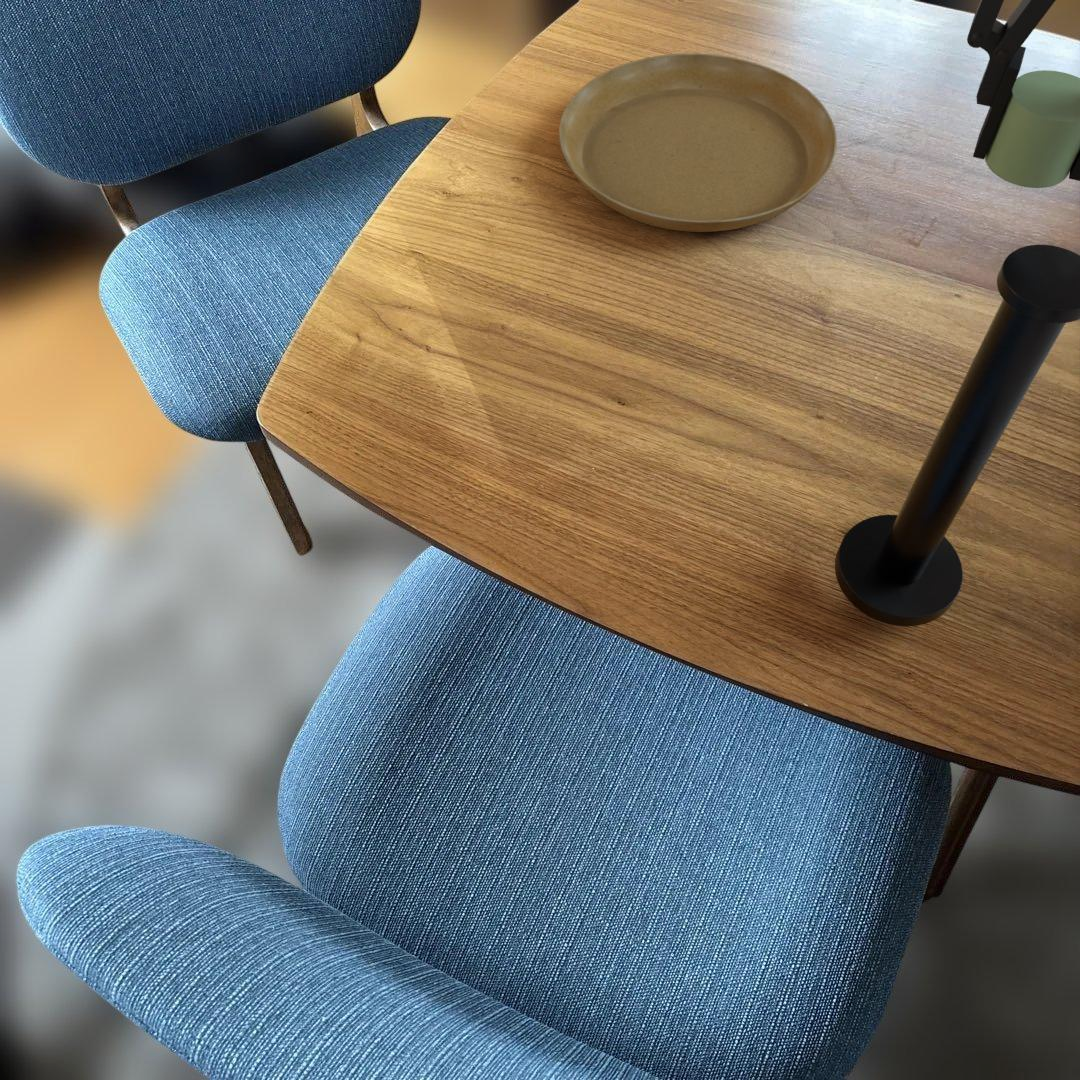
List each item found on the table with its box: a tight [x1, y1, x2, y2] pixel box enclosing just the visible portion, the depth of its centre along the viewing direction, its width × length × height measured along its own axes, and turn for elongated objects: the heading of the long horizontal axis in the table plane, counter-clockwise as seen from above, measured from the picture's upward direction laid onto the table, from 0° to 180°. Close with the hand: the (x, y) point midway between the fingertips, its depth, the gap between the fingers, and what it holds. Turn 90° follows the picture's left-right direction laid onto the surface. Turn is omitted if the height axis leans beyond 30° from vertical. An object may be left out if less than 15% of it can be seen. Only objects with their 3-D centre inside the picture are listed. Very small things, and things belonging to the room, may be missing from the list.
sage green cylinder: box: [984, 69, 1080, 189], centre depth 68 cm, size 6×6×5 cm
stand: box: [834, 244, 1080, 627], centre depth 58 cm, size 8×8×26 cm
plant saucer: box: [558, 52, 838, 233], centre depth 91 cm, size 24×24×3 cm
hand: (1029, 156), depth 70 cm, fingers closed on sage green cylinder, 6 cm apart
